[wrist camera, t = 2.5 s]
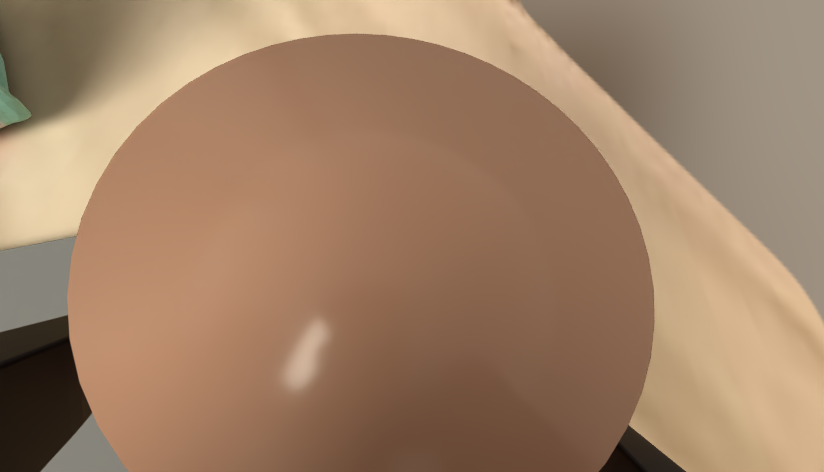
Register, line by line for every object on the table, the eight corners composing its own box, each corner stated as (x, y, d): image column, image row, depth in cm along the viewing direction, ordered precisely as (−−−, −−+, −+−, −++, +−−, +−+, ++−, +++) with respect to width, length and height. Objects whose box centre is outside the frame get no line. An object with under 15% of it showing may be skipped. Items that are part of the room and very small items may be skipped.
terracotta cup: (462, 418, 16) (767, 417, 4) (297, 482, 14) (55, 772, 3) (412, 270, 18) (517, 18, 7) (265, 309, 17) (73, 56, 5)
